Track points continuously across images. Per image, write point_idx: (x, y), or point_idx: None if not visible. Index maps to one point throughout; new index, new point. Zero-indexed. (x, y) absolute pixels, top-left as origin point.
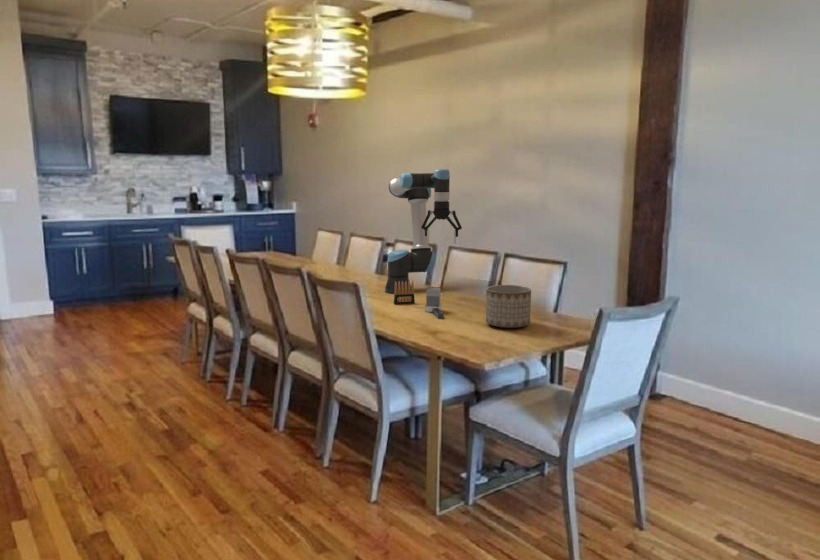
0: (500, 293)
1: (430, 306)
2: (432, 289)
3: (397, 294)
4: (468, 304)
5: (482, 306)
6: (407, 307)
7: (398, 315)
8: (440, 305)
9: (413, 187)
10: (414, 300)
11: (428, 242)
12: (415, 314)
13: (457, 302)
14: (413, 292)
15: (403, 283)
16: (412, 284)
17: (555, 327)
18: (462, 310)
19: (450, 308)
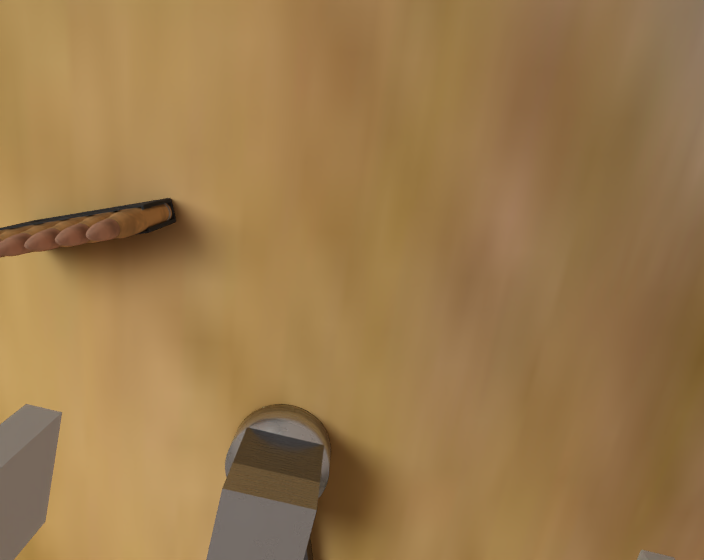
0: None
1: None
2: (250, 556)
3: (21, 225)
4: (536, 285)
5: (610, 352)
6: (128, 336)
7: (80, 526)
8: (320, 483)
9: None
10: (168, 223)
11: (39, 515)
12: (174, 513)
13: (476, 214)
14: (139, 232)
15: (17, 251)
16: (103, 240)
17: None
18: (458, 446)
19: (396, 388)
